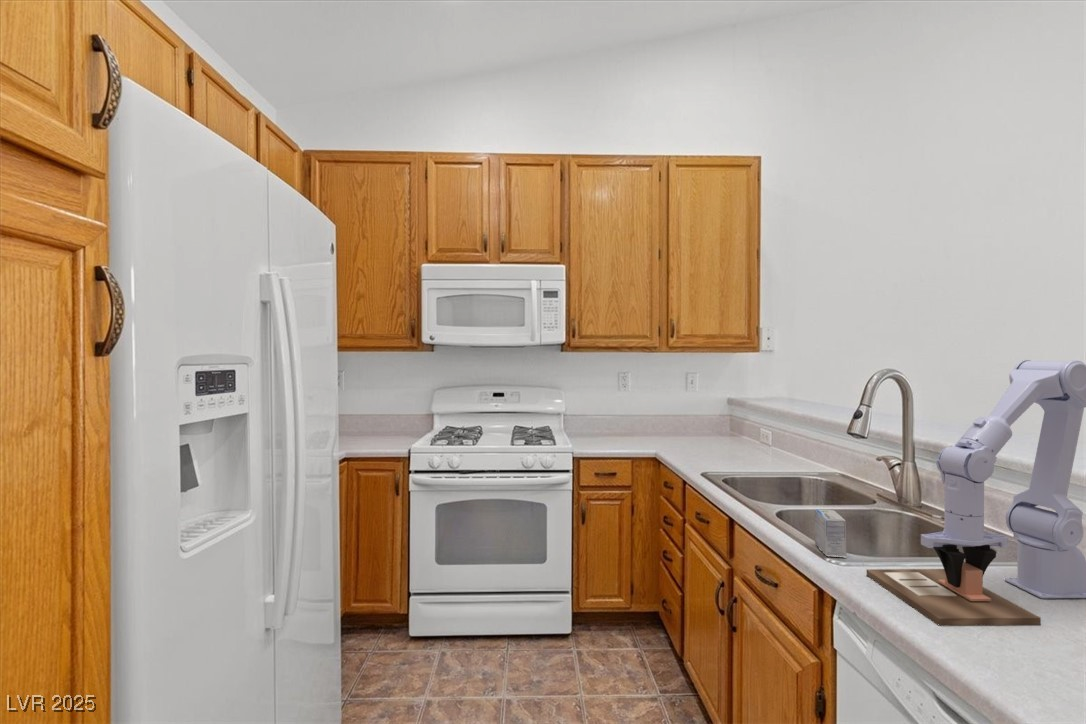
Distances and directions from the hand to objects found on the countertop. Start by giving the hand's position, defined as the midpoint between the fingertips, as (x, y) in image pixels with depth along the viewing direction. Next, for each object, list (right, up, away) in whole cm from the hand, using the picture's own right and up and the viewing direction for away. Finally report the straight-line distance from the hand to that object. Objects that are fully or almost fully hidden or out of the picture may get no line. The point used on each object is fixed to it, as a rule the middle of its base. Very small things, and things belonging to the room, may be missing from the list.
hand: (963, 585), depth 98 cm
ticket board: (-3, -3, +1) cm, 4 cm away
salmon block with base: (0, -1, 0) cm, 1 cm away
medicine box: (-12, -3, +24) cm, 27 cm away
